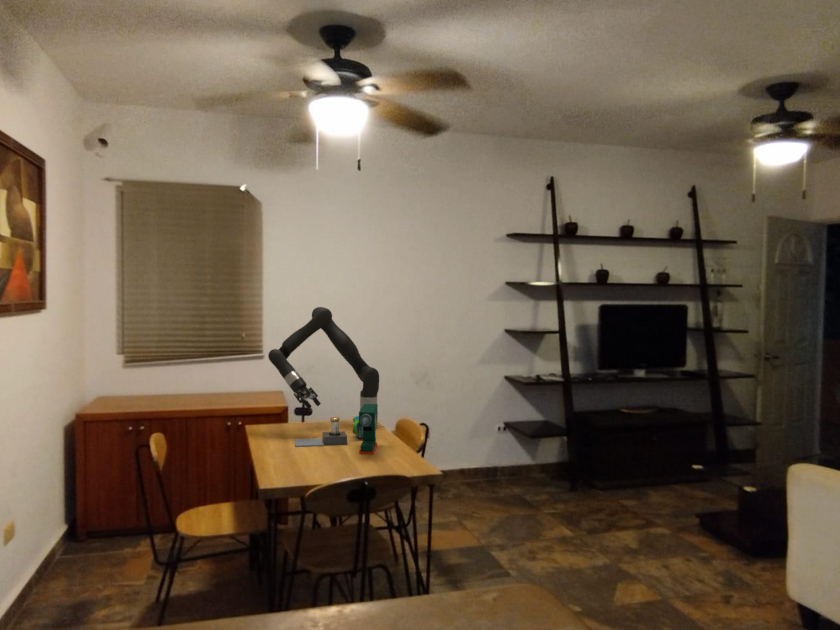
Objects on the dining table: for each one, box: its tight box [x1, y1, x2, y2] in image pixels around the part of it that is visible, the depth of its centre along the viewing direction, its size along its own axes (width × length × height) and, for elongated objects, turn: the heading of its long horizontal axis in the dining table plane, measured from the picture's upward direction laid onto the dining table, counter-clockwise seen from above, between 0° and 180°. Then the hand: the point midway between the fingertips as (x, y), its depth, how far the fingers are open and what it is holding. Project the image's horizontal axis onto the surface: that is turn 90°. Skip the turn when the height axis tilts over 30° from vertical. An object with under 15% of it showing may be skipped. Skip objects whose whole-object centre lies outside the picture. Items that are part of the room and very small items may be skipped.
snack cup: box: [352, 415, 363, 440], centre depth 316 cm, size 16×10×10 cm
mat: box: [294, 437, 324, 448], centre depth 302 cm, size 13×13×1 cm
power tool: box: [358, 403, 379, 455], centre depth 286 cm, size 32×7×20 cm, turn 179°
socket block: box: [321, 431, 348, 446], centre depth 304 cm, size 11×11×4 cm
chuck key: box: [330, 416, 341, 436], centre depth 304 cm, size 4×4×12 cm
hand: (314, 406), depth 308 cm, fingers open, 8 cm apart
